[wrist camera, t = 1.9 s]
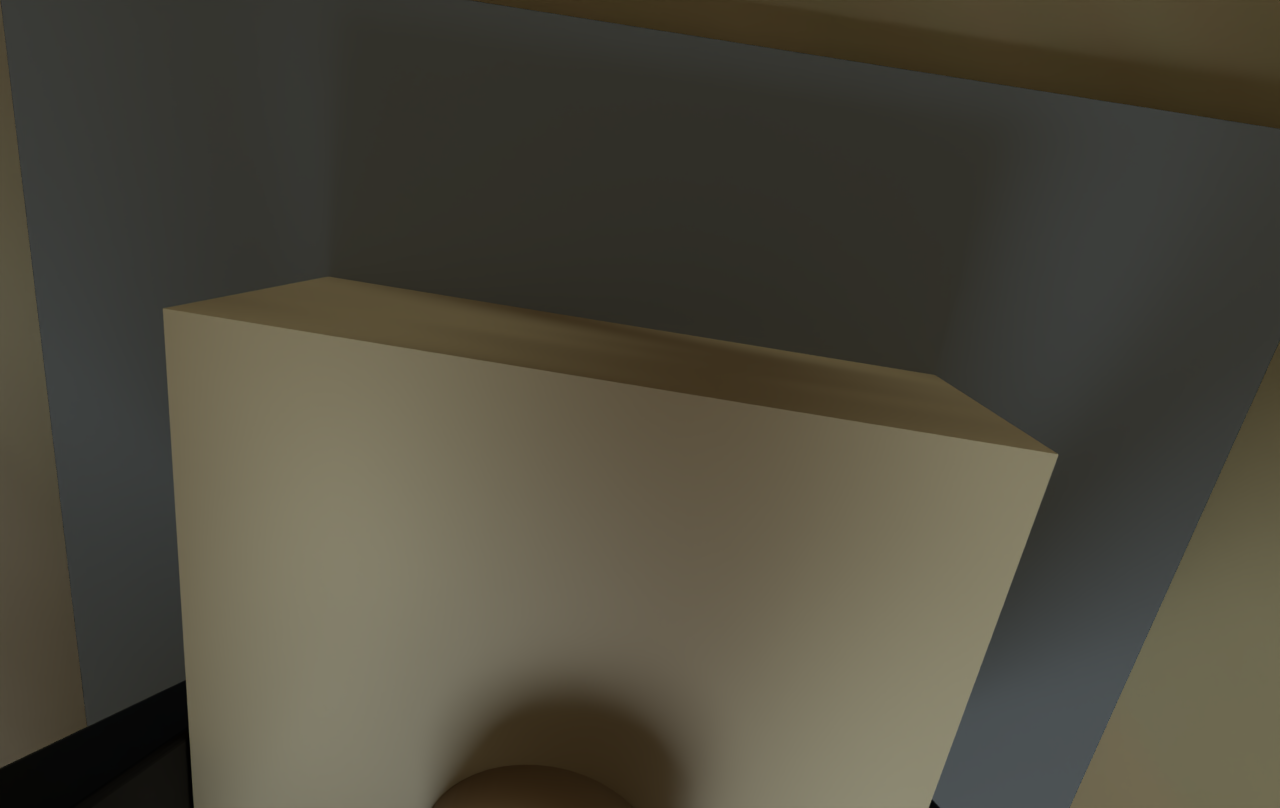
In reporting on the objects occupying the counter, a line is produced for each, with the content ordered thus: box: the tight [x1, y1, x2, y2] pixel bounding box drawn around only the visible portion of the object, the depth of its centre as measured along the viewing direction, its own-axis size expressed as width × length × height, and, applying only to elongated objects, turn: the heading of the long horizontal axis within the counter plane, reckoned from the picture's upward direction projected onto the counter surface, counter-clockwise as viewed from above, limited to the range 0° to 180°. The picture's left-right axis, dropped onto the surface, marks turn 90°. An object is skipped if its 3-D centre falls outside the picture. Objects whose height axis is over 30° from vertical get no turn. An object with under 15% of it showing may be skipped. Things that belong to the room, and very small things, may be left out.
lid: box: [163, 277, 1059, 808], centre depth 7 cm, size 7×10×4 cm
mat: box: [1, 0, 1280, 808], centre depth 9 cm, size 14×16×1 cm
